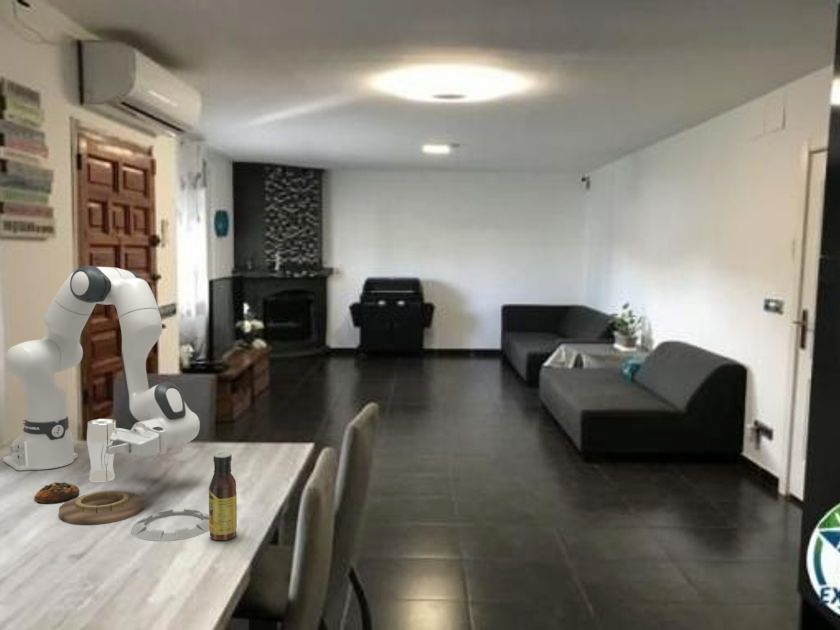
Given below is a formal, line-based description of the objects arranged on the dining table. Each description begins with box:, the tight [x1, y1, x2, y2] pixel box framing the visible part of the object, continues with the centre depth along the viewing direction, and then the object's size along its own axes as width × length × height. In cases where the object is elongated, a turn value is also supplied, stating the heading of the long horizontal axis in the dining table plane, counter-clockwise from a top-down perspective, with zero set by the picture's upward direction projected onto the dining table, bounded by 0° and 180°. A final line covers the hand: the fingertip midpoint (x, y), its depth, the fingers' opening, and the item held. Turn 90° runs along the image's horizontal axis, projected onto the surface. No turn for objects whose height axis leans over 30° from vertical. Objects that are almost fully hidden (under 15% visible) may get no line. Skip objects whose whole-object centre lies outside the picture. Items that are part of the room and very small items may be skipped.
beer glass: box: [86, 418, 117, 484], centre depth 181 cm, size 7×7×15 cm
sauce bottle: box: [208, 451, 238, 541], centre depth 166 cm, size 6×6×20 cm
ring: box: [130, 508, 210, 542], centre depth 173 cm, size 19×19×2 cm
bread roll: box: [33, 481, 80, 504], centre depth 192 cm, size 11×11×5 cm
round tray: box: [58, 490, 146, 526], centre depth 182 cm, size 20×20×3 cm
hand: (98, 448), depth 180 cm, fingers closed on beer glass, 6 cm apart
